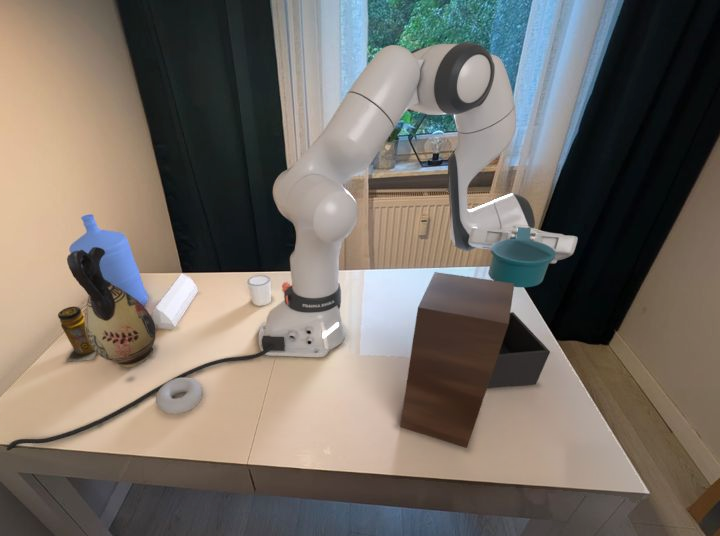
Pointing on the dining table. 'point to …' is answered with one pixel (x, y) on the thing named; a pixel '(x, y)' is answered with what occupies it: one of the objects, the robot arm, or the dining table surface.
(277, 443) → the dining table surface
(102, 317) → the ceramic jug
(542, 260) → the cup
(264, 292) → the shot glass
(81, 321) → the condiment
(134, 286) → the water jug
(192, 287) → the white hexagonal prism
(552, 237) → the robot arm
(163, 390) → the donut
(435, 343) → the walnut wood pedestal
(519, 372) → the dark grey open box
